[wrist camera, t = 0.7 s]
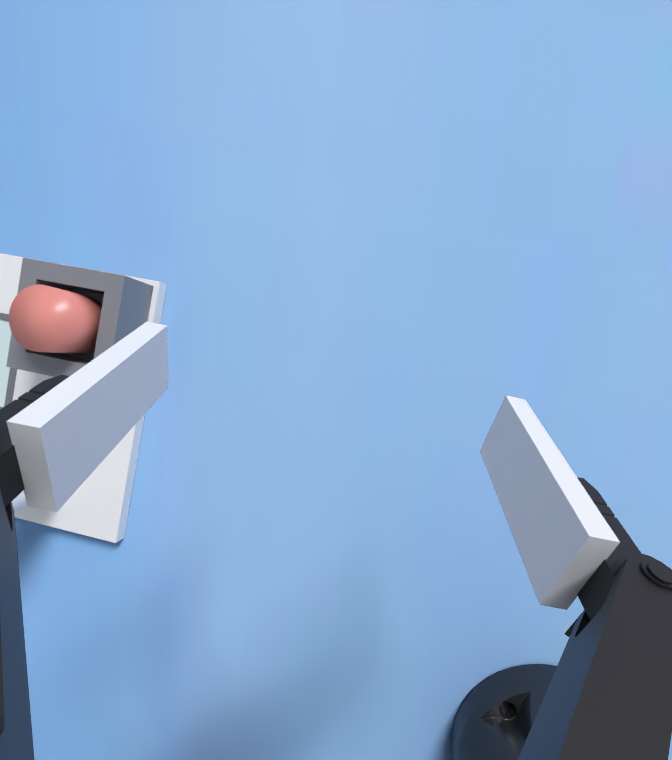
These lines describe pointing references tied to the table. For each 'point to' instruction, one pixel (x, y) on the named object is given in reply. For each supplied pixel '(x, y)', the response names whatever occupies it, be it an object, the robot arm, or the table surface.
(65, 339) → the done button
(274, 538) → the table surface
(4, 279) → the sheet
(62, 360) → the button housing
